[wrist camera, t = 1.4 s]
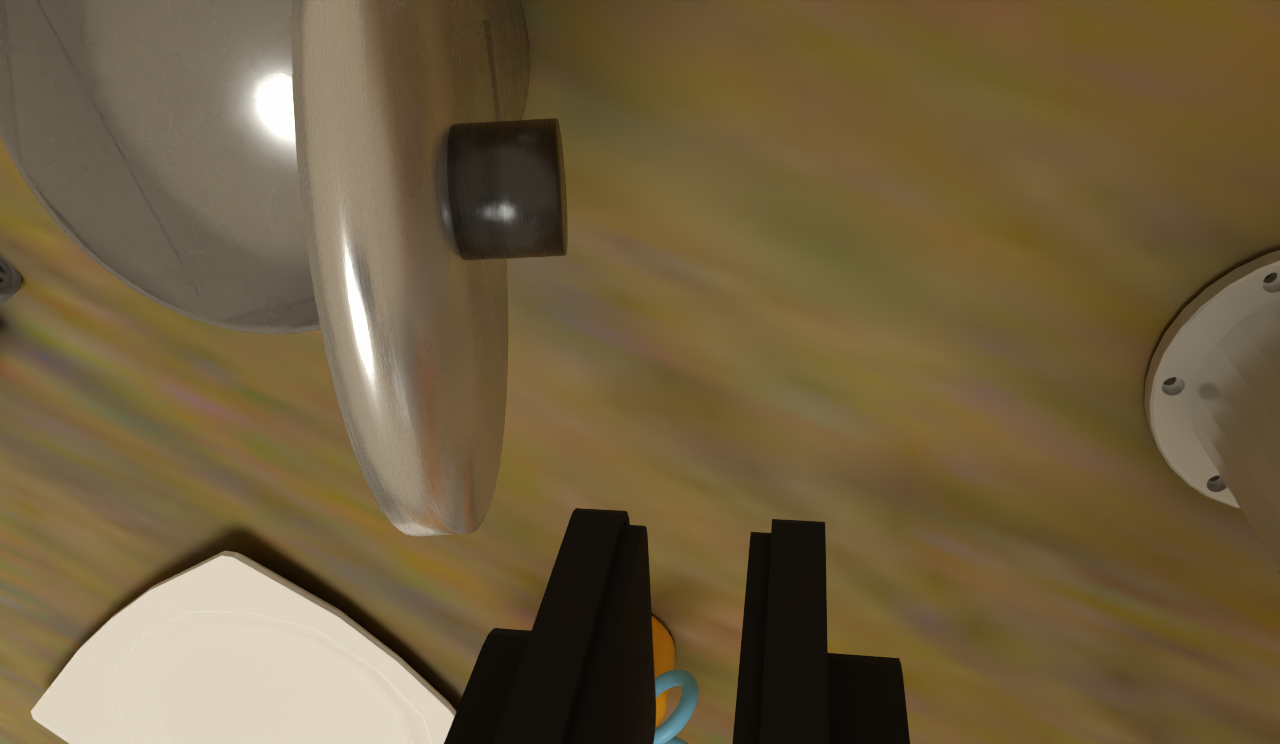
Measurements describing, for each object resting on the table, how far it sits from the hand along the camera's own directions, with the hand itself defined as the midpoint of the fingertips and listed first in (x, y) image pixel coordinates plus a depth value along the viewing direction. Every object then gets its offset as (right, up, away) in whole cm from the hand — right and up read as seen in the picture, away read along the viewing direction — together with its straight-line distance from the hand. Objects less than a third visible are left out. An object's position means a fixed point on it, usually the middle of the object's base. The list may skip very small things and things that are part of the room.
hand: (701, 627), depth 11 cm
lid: (-6, +7, +14) cm, 16 cm away
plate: (-23, -19, +53) cm, 60 cm away
